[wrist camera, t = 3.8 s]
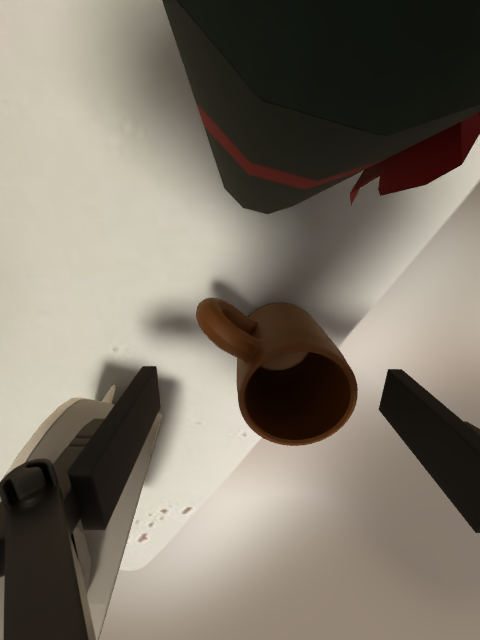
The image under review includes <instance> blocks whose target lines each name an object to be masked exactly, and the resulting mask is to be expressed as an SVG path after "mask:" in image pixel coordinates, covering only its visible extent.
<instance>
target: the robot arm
mask: <svg viewBox="0 0 480 640" xmlns="http://www.w3.org/2000/svg"><path fill="white" fill-rule="evenodd" d="M159 410H160V397H159V388H158V378H157V368H156V366H143V367H142V368H141V369H140V371H139V372H138V373H137V375H136V376H135V378H134V379H133V380H132V382H131V383H130V385H129V386H128V387H127V389H126V390H125V391H124V393H123V394H122V396H121V397H120V398H119V400H118V401H117V403H116V404H115V405H114V407H113V408H112V410H111V411H110V412H109V414H108V415H107V416H106V418H105V419H98V418H94V419H93V420H92V421H90V422H89V423H87V424H86V425H85V426H83V427H82V429H81V430H80V431H79V432H78V434H77V435H76V436H75V438H74V439H73V440H72V441H71V442H70V444H69V446H68V447H66V448H65V450H64V451H63V452H62V453H61V455H60V456H59V457H58V458H57V460H56V461H55V462H54V463H53V464H52V462H51V460H48V459H45V458H42V459H34V460H31V461H28V462H25V463H23V464H21V465H20V466H18V467H16V468H14V469H13V470H12V471H11V472H9V473H8V474H7V475H6V476H5V477H4V478H3V479H2V481H1V482H0V497H1V500H2V502H0V577H3V576H5V578H4V640H96V637H95V632H94V628H93V623H92V618H91V613H90V608H89V604H88V599H87V594H86V589H85V585H84V580H83V575H82V570H81V565H80V561H79V556H78V551H77V546H76V541H75V537H74V533H73V531H74V529H75V528H76V526H77V524H78V522H79V520H81V523H82V527H83V530H106V527H107V525H108V523H109V521H110V519H111V516H112V514H113V512H114V510H115V507H116V505H117V503H118V501H119V498H120V496H121V494H122V492H123V490H124V487H125V485H126V483H127V481H128V478H129V476H130V474H131V472H132V470H133V467H134V465H135V463H136V461H137V458H138V456H139V454H140V452H141V450H142V447H143V445H144V443H145V441H146V438H147V436H148V434H149V432H150V430H151V427H152V425H153V423H154V421H155V418H156V416H157V414H158V412H159ZM379 410H380V412H381V413H382V414H383V416H384V417H385V418H386V419H387V421H388V422H389V423H390V424H391V426H392V427H393V428H394V430H395V431H396V432H397V433H398V435H399V436H400V437H401V438H402V440H403V441H404V442H405V444H406V445H407V446H408V447H409V449H410V450H411V451H412V452H413V454H414V455H415V456H416V457H417V459H418V460H419V461H420V463H421V464H422V465H423V466H424V468H425V469H426V470H427V471H428V473H429V474H430V475H431V477H432V478H433V479H434V480H435V482H436V483H437V484H438V485H439V487H440V488H441V489H442V490H443V492H444V493H445V494H446V496H447V497H448V498H449V499H450V501H451V502H452V503H453V504H454V506H455V507H456V508H457V509H458V511H459V512H460V513H461V514H462V516H463V517H464V518H465V520H466V521H467V522H468V523H469V525H470V526H471V527H472V529H473V530H474V531H475V532H476V533H480V429H479V428H477V427H475V426H473V425H471V424H470V423H468V422H463V421H462V420H461V419H460V418H459V417H457V416H456V415H455V414H454V413H453V412H451V411H450V410H449V409H448V408H447V407H446V406H444V405H443V404H442V403H441V402H440V401H438V400H437V399H436V398H435V397H434V396H433V395H431V394H430V393H429V392H428V391H427V390H425V389H424V388H423V387H422V386H420V385H419V384H418V383H417V382H416V381H415V380H413V379H412V378H411V377H410V376H409V375H408V374H406V373H405V372H404V371H403V370H401V369H400V370H399V369H388V372H387V376H386V381H385V385H384V389H383V394H382V398H381V402H380V406H379Z"/></svg>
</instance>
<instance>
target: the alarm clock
mask: <svg viewBox="0 0 480 640" xmlns="http://www.w3.org/2000/svg"><path fill="white" fill-rule="evenodd" d="M115 389H116V386H115V385H112V387H111V388H110V390H109V391H108V392H107V394H106V395H105V397H104V398H103V400H102V401H101V402H100V401H95V400H90V399H85V398H72V399H70V400H69V401H67V402H65V403H64V404H62V405H61V406H59V407H58V408H57V409H56V410H55V411H54V412H53V413H52V414H51V415H50V416H49V417H48V418H47V419H46V420H45V421H44V422H43V423H42V424H41V426H40V427H39V428H38V430H37V431H36V432H35V433H34V435H33V436H32V437H31V439H30V440H29V441H28V442H27V444H26V445H25V446H24V448H23V449H22V450H21V451H20V453H19V454H18V456H17V457H16V459H15V460H14V462H13V464H12V465H11V467H10V468H9V470H8V471H7V473H6V474H5V476H6V475H7V474H8V473H9V472H11V471H12V470H13V469H14V468H16V467H18V466H20V465H21V464H23V463H25V462H28V461H31V460H34V459H42V458H45V459H48V460H51V462H52V464H53V463H54V462H55V461H56V460H57V458H58V457H59V456H60V455H61V453H62V452H63V451H64V450H65V448H66V447H68V446H69V444H70V442H71V441H72V440H73V439H74V438H75V436H76V435H77V434H78V432H79V431H80V430H81V429H82V427H83V426H85V425H86V424H87V423H89V422H90V421H92V420H93V419H94V418H98V419H105V418H106V416H107V415H108V414H109V412H110V411H111V410H112V408H113V407H114V405H115V404H112V402H113V397H114V393H115ZM161 420H162V414H160V413H158V414H157V416H156V418H155V421H154V423H153V425H152V427H151V430H150V432H149V434H148V436H147V438H146V441H145V443H144V445H143V447H142V450H141V452H140V454H139V456H138V458H137V461H136V463H135V465H134V467H133V470H132V472H131V474H130V476H129V478H128V481H127V483H126V485H125V487H124V490H123V492H122V494H121V496H120V498H119V501H118V503H117V505H116V507H115V510H114V512H113V514H112V516H111V519H110V521H109V523H108V525H107V527H106V530H83V527H82V523H81V520H79V522H78V524H77V526H76V528H75V529H74V531H73V533H74V537H75V541H76V546H77V551H78V556H79V561H80V565H81V570H82V575H83V580H84V585H85V589H86V594H87V599H88V604H89V608H90V613H91V618H92V623H93V628H94V632H95V637H96V640H99V638H100V634H101V631H102V627H103V623H104V620H105V617H106V613H107V610H108V606H109V603H110V599H111V595H112V592H113V589H114V585H115V582H116V578H117V574H118V571H119V568H120V564H121V561H122V557H123V553H124V550H125V546H126V543H127V539H128V536H129V532H130V529H131V525H132V522H133V518H134V515H135V511H136V508H137V504H138V501H139V497H140V494H141V490H142V487H143V483H144V480H145V476H146V473H147V469H148V466H149V462H150V458H151V455H152V451H153V448H154V444H155V441H156V437H157V434H158V430H159V427H160V423H161ZM5 476H4V477H5ZM4 477H3V478H4ZM1 481H2V480H1ZM0 502H2V500H1V497H0ZM4 578H5V576H3V577H0V640H4Z"/></svg>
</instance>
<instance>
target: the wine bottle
mask: <svg viewBox="0 0 480 640" xmlns="http://www.w3.org/2000/svg"><path fill="white" fill-rule="evenodd" d="M162 1H163V4H164V7H165V10H166V13H167V16H168V19H169V22H170V25H171V28H172V31H173V34H174V37H175V40H176V43H177V46H178V49H179V52H180V55H181V58H182V61H183V64H184V67H185V70H186V73H187V76H188V80H189V83H190V86H191V89H192V92H193V95H194V98H195V101H196V104H197V107H198V110H199V113H200V116H201V119H202V122H203V125H204V128H205V131H206V134H207V137H208V140H209V143H210V146H211V149H212V152H213V155H214V158H215V161H216V164H217V167H218V170H219V173H220V176H221V179H222V182H223V185H224V188H225V189H226V190H227V191H228V192H229V194H230V195H231V196H232V197H233V198H234V199H235V200H236V201H237V202H238V203H239V204H240V205H241V206H242V207H243V208H246V209H250V210H254V211H258V212H261V213H265V214H269V213H273V212H276V211H279V210H282V209H285V208H288V207H291V206H294V205H296V204H298V203H300V202H302V201H304V200H306V199H308V198H310V197H312V196H314V195H316V194H318V193H320V192H322V191H324V190H326V189H328V188H330V187H332V186H334V185H336V184H338V183H340V182H341V181H343V180H345V179H347V178H349V177H351V176H353V175H355V174H357V173H359V172H361V171H363V170H364V171H363V173H362V174H361V176H360V178H359V179H358V181H357V182H356V184H355V186H354V187H353V189H352V191H351V192H350V199H351V205H352V203H353V201H354V199H355V197H356V195H357V193H358V191H359V189H360V188H361V187H363V186H364V185H366V184H367V183H369V182H371V181H372V180H374V179H375V178H377V177H379V176H380V179H379V187H378V191H379V194H380V196H382V195H386V194H390V193H394V192H398V191H402V190H406V189H410V188H414V187H419V186H423V185H426V184H428V183H430V182H432V181H433V180H435V179H437V178H439V177H441V176H442V175H444V174H446V173H448V172H449V171H451V170H453V169H455V168H457V167H458V166H460V165H462V163H463V162H464V160H465V158H466V156H467V155H468V153H469V151H470V150H471V148H472V146H473V144H474V143H475V141H476V139H477V137H478V136H479V134H480V0H162Z"/></svg>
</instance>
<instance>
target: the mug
mask: <svg viewBox="0 0 480 640" xmlns="http://www.w3.org/2000/svg"><path fill="white" fill-rule="evenodd" d="M196 318H197V321H198V324H199V326H200V328H201V330H202V331H203V333H204V334H205V335H206V336H207V337H208V338H209V339H210V340H211V341H212V342H213V343H214V344H216V345H217V346H218V347H219V348H221V349H222V350H224V351H226V352H228V353H230V354H231V355H233V356H235V357H237V392H238V401H239V408H240V411H241V414H242V416H243V418H244V420H245V421H246V423H247V424H248V425H249V427H250V428H251V429H252V430H253V431H254V432H255V433H257V434H258V435H259V436H261V437H263V438H264V439H266V440H269V441H271V442H274V443H277V444H282V445H290V446H298V445H306V444H312V443H315V442H318V441H321V440H323V439H325V438H327V437H329V436H331V435H332V434H334V433H335V432H337V431H338V430H339V429H340V428H341V427H342V426H343V425H344V424H345V423H346V422H347V420H348V419H349V418H350V416H351V414H352V413H353V411H354V408H355V405H356V401H357V390H358V389H357V382H356V378H355V376H354V373H353V371H352V370H351V368H350V366H349V365H348V363H347V362H346V360H345V358H344V356H343V355H342V353H341V352H340V351H339V349H338V348H337V347H336V345H335V344H334V343H333V342H332V340H331V339H330V338H329V337H328V336H327V334H326V333H325V332H324V331H323V330H322V329H321V327H320V326H319V325H318V324H317V323H316V322H315V320H314V319H313V318H312V317H311V316H310V315H309V314H308V313H307V312H305V311H304V310H303V309H301V308H299V307H297V306H294V305H291V304H286V303H274V304H269V305H266V306H263V307H261V308H259V309H257V310H256V311H255V312H253V313H252V314H251V315H250V316H249V317H247V316H245V315H244V314H243V313H242V312H240V311H239V310H238V309H236V308H235V307H234V306H232V305H231V304H229V303H228V302H226V301H224V300H222V299H218V298H207V299H205V300H203V301H202V302H201V303H199V305H198V307H197V311H196Z"/></svg>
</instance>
